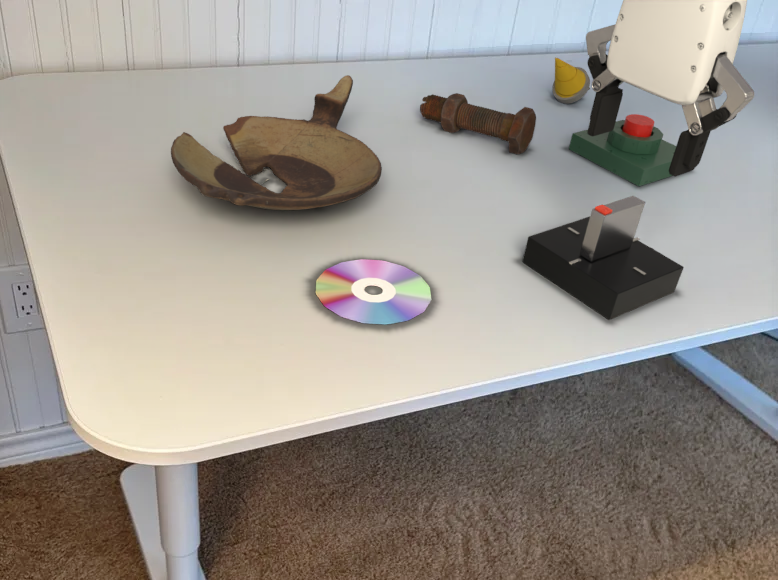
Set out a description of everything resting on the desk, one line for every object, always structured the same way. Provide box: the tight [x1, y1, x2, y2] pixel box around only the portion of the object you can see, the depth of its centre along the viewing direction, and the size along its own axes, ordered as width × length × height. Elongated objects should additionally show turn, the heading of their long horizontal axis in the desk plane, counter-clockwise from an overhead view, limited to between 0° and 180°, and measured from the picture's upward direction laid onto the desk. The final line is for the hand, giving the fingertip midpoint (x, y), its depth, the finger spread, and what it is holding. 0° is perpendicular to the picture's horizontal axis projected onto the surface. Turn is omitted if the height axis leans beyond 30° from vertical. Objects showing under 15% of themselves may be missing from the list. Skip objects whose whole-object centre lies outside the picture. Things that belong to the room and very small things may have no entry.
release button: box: [622, 113, 656, 137], centre depth 105 cm, size 4×4×2 cm
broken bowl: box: [170, 74, 383, 211], centre depth 92 cm, size 22×30×8 cm
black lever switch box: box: [522, 215, 685, 321], centre depth 84 cm, size 12×10×3 cm
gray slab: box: [580, 195, 646, 262], centre depth 81 cm, size 6×2×5 cm, turn 126°
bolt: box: [419, 92, 537, 155], centre depth 108 cm, size 6×5×15 cm
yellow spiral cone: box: [551, 57, 591, 105], centre depth 119 cm, size 5×5×10 cm
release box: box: [568, 119, 677, 187], centre depth 107 cm, size 12×10×4 cm
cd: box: [315, 258, 432, 325], centre depth 79 cm, size 11×11×1 cm
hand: (639, 151), depth 77 cm, fingers open, 9 cm apart
